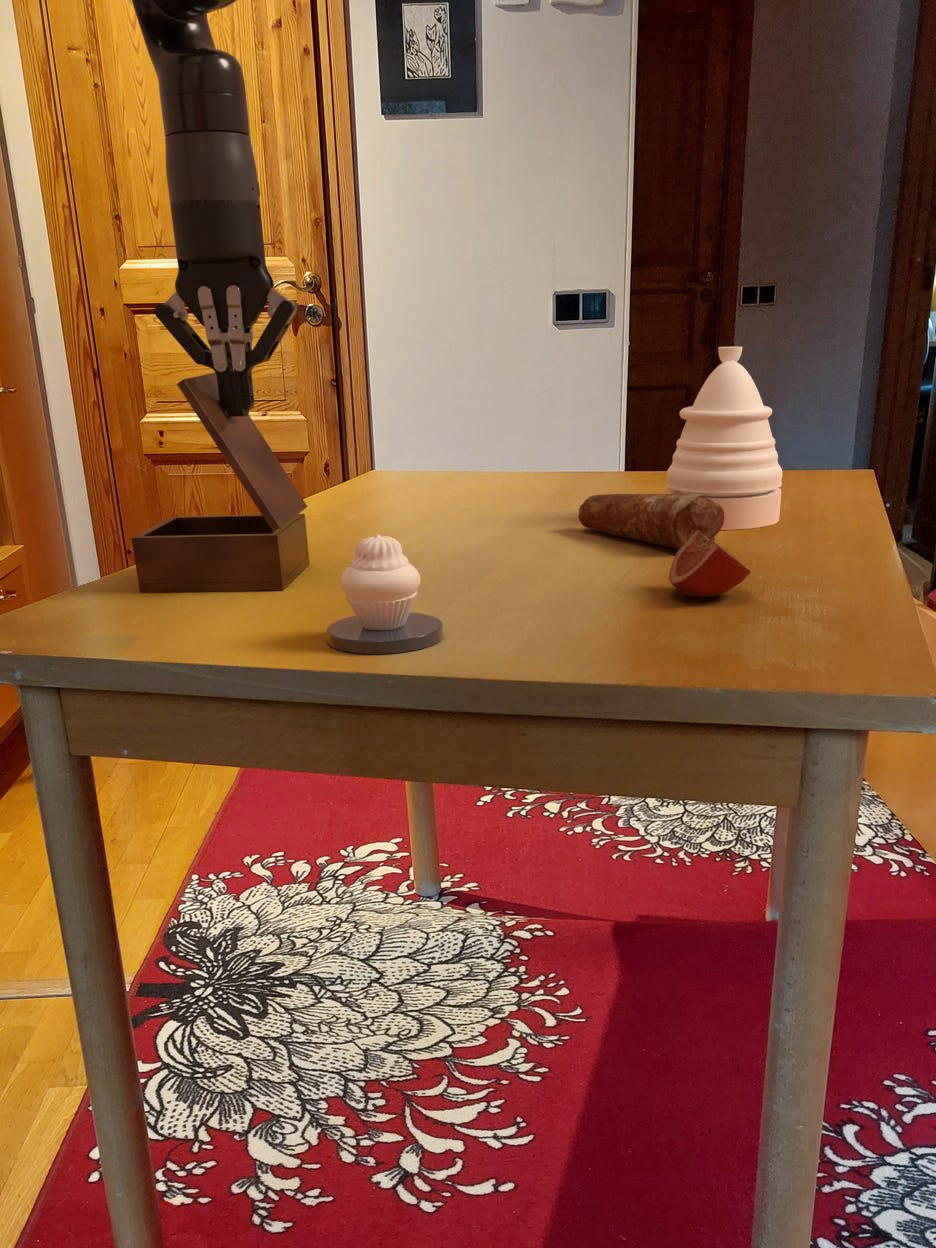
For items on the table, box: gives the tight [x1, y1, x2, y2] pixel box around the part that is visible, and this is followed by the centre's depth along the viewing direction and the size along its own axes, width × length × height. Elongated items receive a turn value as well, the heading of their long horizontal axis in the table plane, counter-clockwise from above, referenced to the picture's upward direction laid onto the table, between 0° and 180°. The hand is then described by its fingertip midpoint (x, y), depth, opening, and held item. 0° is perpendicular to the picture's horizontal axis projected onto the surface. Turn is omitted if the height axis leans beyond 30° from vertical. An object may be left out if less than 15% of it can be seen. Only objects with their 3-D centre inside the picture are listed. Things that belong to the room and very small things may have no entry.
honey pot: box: [664, 346, 783, 531], centre depth 129 cm, size 13×13×18 cm
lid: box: [176, 372, 308, 532], centre depth 108 cm, size 14×12×1 cm
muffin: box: [339, 533, 421, 631], centre depth 89 cm, size 6×6×7 cm
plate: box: [326, 611, 444, 655], centre depth 91 cm, size 9×9×1 cm
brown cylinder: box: [577, 493, 724, 550], centre depth 123 cm, size 6×19×6 cm, turn 31°
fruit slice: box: [668, 530, 752, 598], centre depth 99 cm, size 8×7×5 cm
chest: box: [131, 513, 311, 593], centre depth 112 cm, size 14×12×5 cm
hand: (239, 415), depth 107 cm, fingers closed
